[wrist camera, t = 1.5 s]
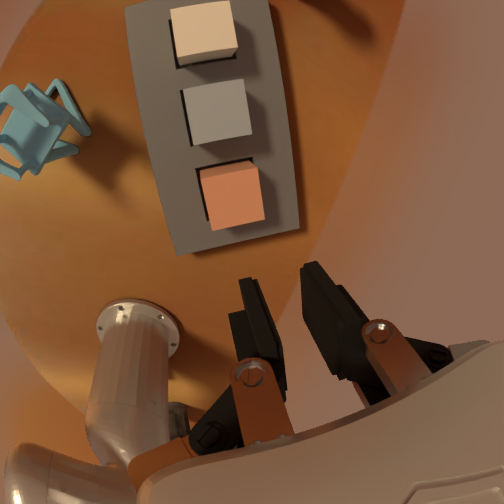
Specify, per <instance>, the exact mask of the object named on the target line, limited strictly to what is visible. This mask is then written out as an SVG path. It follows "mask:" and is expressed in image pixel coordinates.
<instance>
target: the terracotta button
mask: <svg viewBox="0 0 504 504" xmlns="http://www.w3.org/2000/svg"><path fill="white" fill-rule="evenodd" d="M200 178H201V183H202V188H203V193H204V197H205V202H206V206H207V211H208V215H209V219H210V224H211V228H212V231H215V230H219V229H224V228H228V227H233V226H237V225H242V224H246V223H251V222H255V221H260V220H265V216H264V209H263V202H262V195H261V189H260V182H259V175H258V168H257V167H256V166H255V165H254V164H253V163H251V162H250V161H243V162H238V163H233V164H228V165H223V166H218V167H213V168H209V169H204V170H200Z"/></svg>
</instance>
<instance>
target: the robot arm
mask: <svg viewBox="0 0 504 504" xmlns="http://www.w3.org/2000/svg"><path fill="white" fill-rule="evenodd" d="M300 279H301V295H302V314H303V319H304V321H305V323H306V325H307V327H308V329H309V331H310V332H311V335H312V337H313V339H314V340H315V342H316V344H317V346H318V348H319V350H320V352H321V354H322V356H323V358H324V360H325V362H326V364H327V366H328V368H329V370H330V372H331V373H332V375H337V377H338V379H339V380H343V379H345V378H347V380H349V381H352V383H353V385H354V388H355V390H356V391H357V393H358V395H359V397H360V399H361V401H362V403H363V404H364V406H365V409H363V410H361V411H358V412H356V413H353V414H351V415H348V416H346V417H343V418H341V419H338V420H335V421H333V422H330V423H327V424H325V425H322V426H319V427H316V428H313V429H310V430H307V431H304V432H300V433H297V434H295V433H294V430H293V427H292V424H291V422H290V419H289V416H288V413H287V410H286V407H285V404H284V403H285V401H286V392H285V391H286V390H287V382H286V375H285V365H284V355H283V347H282V343H281V340H280V337H279V334H278V332H277V329H276V326H275V324H274V321H273V319H272V316H271V314H270V311H269V309H268V306H267V304H266V301H265V299H264V296H263V293H262V291H261V288H260V286H259V283H258V281H257V279H254V280H252V278H251V277H248V278H244V279H239V285H240V290H241V294H242V299H243V303H244V308H245V310H242V311H238V312H234V313H229V314H228V316H229V321H230V325H231V330H232V335H233V340H234V344H235V349H236V353H237V358H238V363H237V364H235V366H234V367H233V368H232V370H231V372H230V381H231V385H230V386H229V387H228V388H227V389H226V391H225V392H224V393H223V394H222V395H221V396H220V398H219V399H218V400H217V401H216V402H215V403H214V404H213V406H212V407H211V408H210V409H209V410H208V411H207V412H206V414H205V415H204V416H203V417H202V418H201V419H200V420H199V421H198V422H197V423H196V425H195V426H194V427H193V428H192V430H191V431H190V433H189V435H187V436H185V437H183V438H180V437H178V438H176V439H174V440H171V441H170V438H169V411H168V358H169V357H171V356H172V355H173V354H174V353H175V352H176V350H177V348H178V346H179V341H180V334H179V328H178V326H177V324H176V322H175V320H174V319H173V318H172V316H171V315H170V314H169V313H167V312H166V311H165V310H164V309H162V308H161V307H159V306H157V305H155V304H153V303H150V302H147V301H144V300H138V299H122V300H118V301H115V302H112V303H110V304H109V305H107V306H106V307H105V308H104V309H103V310H102V311H101V313H100V315H99V317H98V320H97V325H96V329H97V335H98V337H99V340H100V341H101V343H102V344H101V348H100V352H99V356H98V360H97V364H96V368H95V373H94V377H93V382H92V386H91V391H90V396H89V402H88V407H87V413H86V419H85V430H86V435H87V439H88V441H89V443H90V446H91V448H92V450H93V451H94V453H95V455H96V456H97V458H98V460H99V461H100V463H101V464H102V466H98V465H93V464H90V463H87V462H84V461H80V460H78V459H75V458H72V457H69V456H66V455H64V454H61V453H59V452H56V451H54V450H51V449H48V448H46V447H43V446H40V445H38V444H35V443H31V442H19V443H16V444H15V445H14V446H13V447H12V448H11V449H10V451H9V452H8V455H7V458H6V463H5V467H4V490H5V500H6V504H504V341H495V342H489V341H486V340H478V341H472V342H467V343H461V344H455V345H449V347H448V348H446V347H445V346H443V345H440V344H436V343H431V342H427V341H422V340H418V339H413V338H408V337H404V336H403V335H402V334H401V332H400V331H399V330H398V329H397V328H396V327H395V325H394V324H392V323H391V322H389V321H387V320H383V319H375V320H371V321H370V320H369V319H368V318H367V316H366V315H365V314H364V313H363V311H362V310H361V309H360V307H359V306H358V305H357V304H356V302H355V301H354V300H353V299H352V297H351V296H350V295H349V293H348V292H347V291H346V289H345V288H344V287H343V286H342V285H335V283H334V282H333V281H332V280H331V278H330V277H329V276H328V274H327V273H326V272H325V271H324V269H323V268H322V267H321V265H320V264H319V263H318V262H317V261H313V262H309V263H305V264H304V266H303V268H300Z"/></svg>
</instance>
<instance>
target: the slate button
mask: <svg viewBox="0 0 504 504" xmlns="http://www.w3.org/2000/svg"><path fill="white" fill-rule="evenodd" d="M183 93H184V98H185V104H186V109H187V114H188V119H189V125H190V130H191V135H192V140H193V145H199V144H203V143H208V142H213V141H218V140H223V139H228V138H233V137H239V136H245V135H251V134H252V129H251V123H250V117H249V111H248V104H247V98H246V92H245V86H244V80H243V79H238V80H231V81H224V82H218V83H212V84H207V85H202V86H196V87H192V88H187V89H183Z"/></svg>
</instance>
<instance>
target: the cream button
mask: <svg viewBox="0 0 504 504" xmlns="http://www.w3.org/2000/svg"><path fill="white" fill-rule="evenodd" d="M170 12H171V19H172V26H173V33H174V39H175V45H176V52H177V58H178V61H179V65H180V66H181V65H186V64H191V63H196V62H201V61H207V60H213V59H219V58H226V57H232V55H233V54H234V52H235V51H236V49H237V48H238V45H237V40H236V34H235V28H234V23H233V17H232V12H231V7H230V1H219V2H211V3H203V4H197V5H191V6H185V7H180V8H175V9H170Z"/></svg>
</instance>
